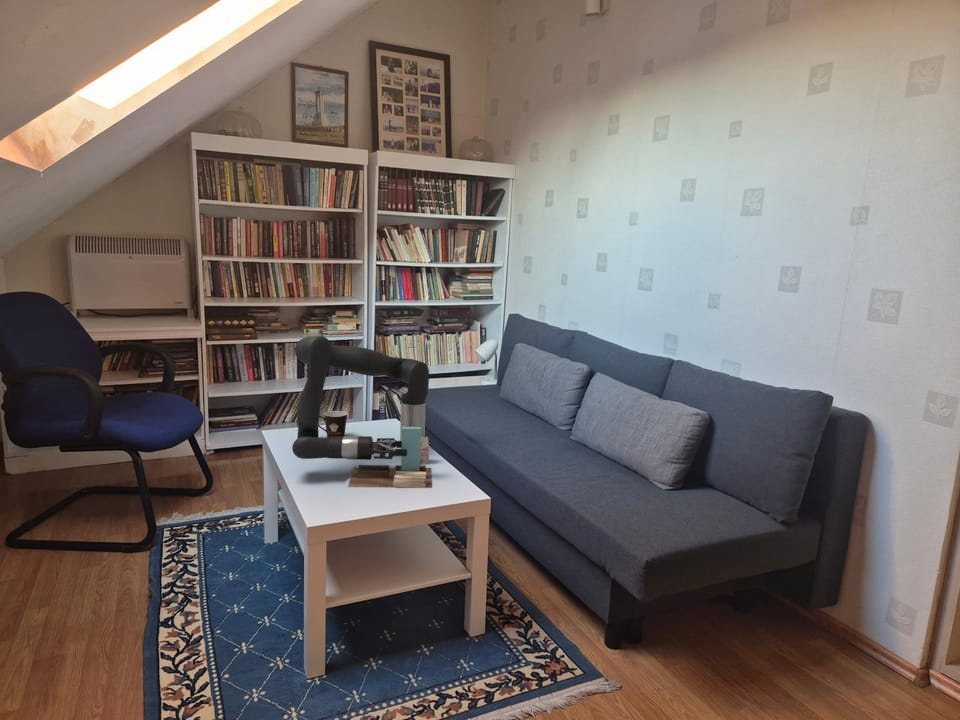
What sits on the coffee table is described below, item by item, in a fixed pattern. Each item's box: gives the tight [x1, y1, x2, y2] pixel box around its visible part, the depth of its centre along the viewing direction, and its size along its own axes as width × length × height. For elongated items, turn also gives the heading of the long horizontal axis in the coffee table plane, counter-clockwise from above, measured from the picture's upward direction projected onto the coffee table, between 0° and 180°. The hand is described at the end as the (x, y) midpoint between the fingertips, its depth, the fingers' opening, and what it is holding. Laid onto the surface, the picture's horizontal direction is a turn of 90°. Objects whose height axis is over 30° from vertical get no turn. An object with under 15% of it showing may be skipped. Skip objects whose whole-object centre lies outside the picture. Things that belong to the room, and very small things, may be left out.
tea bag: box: [420, 436, 430, 465], centre depth 219 cm, size 4×7×10 cm, turn 115°
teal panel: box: [400, 427, 421, 471], centre depth 206 cm, size 2×6×16 cm, turn 95°
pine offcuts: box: [392, 471, 426, 488], centre depth 199 cm, size 6×10×3 cm, turn 95°
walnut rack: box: [347, 464, 433, 489], centre depth 205 cm, size 18×26×3 cm
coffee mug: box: [318, 410, 348, 438], centre depth 245 cm, size 12×9×10 cm
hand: (407, 448), depth 206 cm, fingers open, 8 cm apart
